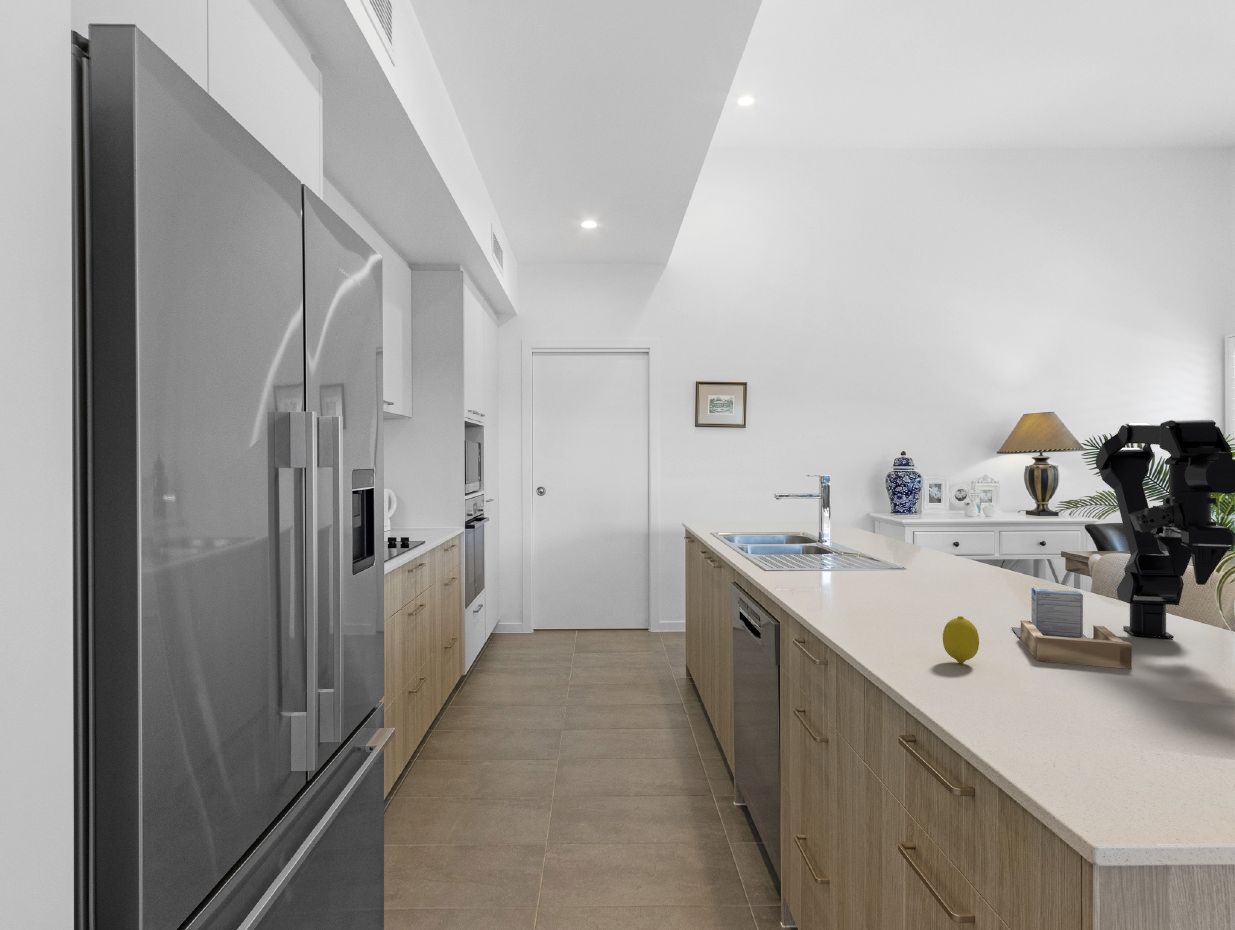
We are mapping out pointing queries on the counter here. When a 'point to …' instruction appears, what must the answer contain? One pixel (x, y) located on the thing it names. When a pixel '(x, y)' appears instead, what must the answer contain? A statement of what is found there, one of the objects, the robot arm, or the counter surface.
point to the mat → (1018, 632)
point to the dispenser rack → (1078, 647)
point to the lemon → (960, 639)
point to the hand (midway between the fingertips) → (1189, 580)
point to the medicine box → (1057, 611)
